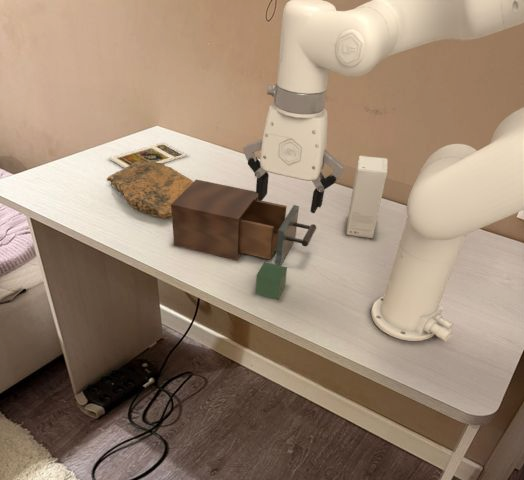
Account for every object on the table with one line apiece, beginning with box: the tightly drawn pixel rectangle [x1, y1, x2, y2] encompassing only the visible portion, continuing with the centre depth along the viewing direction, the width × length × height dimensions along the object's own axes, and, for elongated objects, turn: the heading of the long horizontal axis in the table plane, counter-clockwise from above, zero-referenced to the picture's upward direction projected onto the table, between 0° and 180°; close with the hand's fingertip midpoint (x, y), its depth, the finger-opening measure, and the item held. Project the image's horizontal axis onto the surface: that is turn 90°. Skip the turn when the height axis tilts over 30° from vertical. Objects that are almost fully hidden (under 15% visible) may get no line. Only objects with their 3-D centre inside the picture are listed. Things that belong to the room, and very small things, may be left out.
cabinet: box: [171, 179, 258, 261], centre depth 104 cm, size 15×13×10 cm
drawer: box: [239, 200, 317, 266], centre depth 102 cm, size 18×11×8 cm, turn 72°
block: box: [255, 261, 288, 300], centre depth 94 cm, size 5×5×5 cm
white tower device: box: [345, 155, 389, 239], centre depth 109 cm, size 8×7×16 cm
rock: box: [106, 161, 194, 219], centre depth 118 cm, size 25×6×20 cm
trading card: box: [109, 142, 187, 169], centre depth 136 cm, size 11×1×18 cm
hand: (288, 203), depth 86 cm, fingers open, 9 cm apart
